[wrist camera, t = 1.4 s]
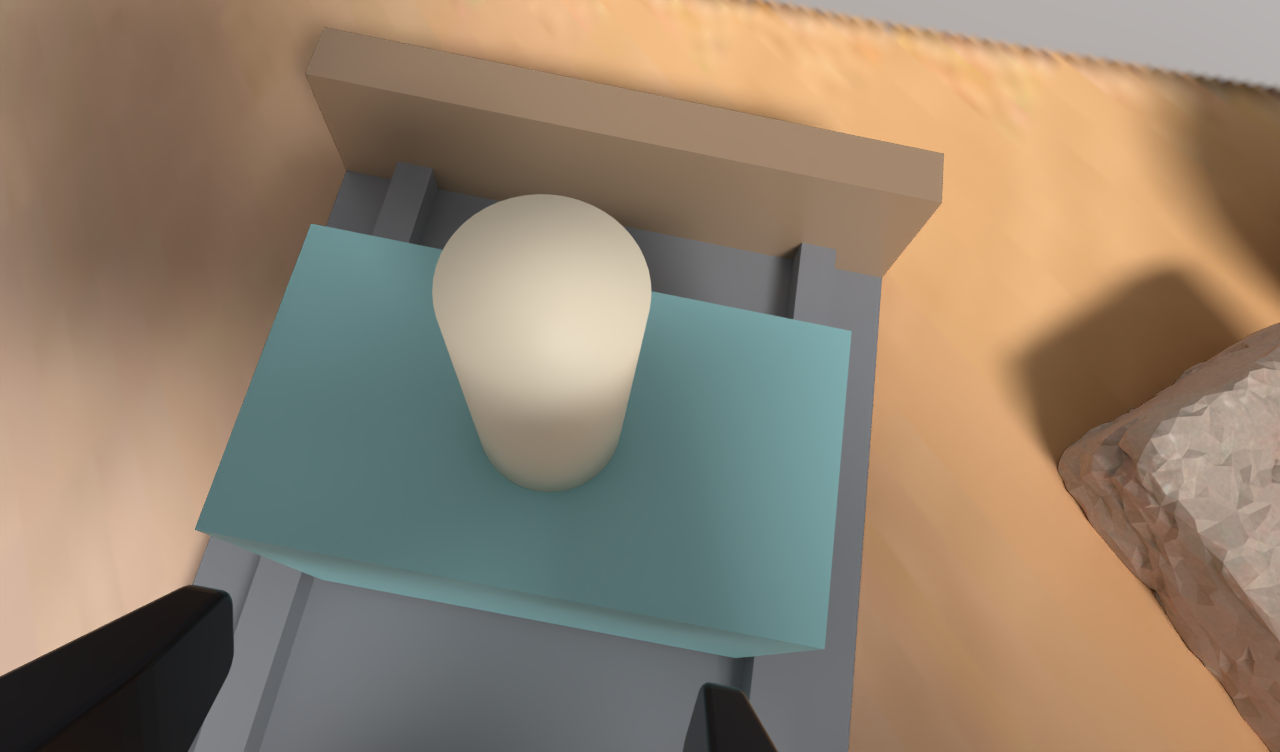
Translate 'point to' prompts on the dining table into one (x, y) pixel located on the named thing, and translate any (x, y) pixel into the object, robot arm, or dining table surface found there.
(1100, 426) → the brick
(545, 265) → the dowel block
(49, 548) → the dining table surface
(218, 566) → the track
